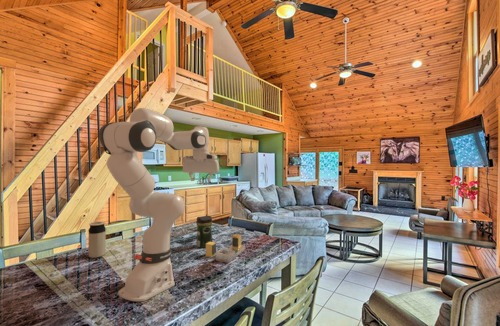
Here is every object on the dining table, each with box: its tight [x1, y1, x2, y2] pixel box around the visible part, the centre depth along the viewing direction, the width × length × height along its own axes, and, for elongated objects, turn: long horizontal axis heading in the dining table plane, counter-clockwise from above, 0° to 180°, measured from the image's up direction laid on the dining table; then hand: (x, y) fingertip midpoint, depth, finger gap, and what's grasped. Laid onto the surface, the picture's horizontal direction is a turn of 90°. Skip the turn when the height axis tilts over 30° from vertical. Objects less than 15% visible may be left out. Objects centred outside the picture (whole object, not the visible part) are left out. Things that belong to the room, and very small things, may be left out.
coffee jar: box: [195, 215, 213, 249], centre depth 152 cm, size 10×8×19 cm
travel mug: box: [88, 220, 107, 259], centre depth 135 cm, size 8×8×18 cm
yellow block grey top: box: [205, 241, 217, 258], centre depth 136 cm, size 4×4×7 cm
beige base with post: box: [215, 233, 246, 264], centre depth 138 cm, size 22×8×9 cm, turn 158°
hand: (200, 180), depth 135 cm, fingers open, 8 cm apart
